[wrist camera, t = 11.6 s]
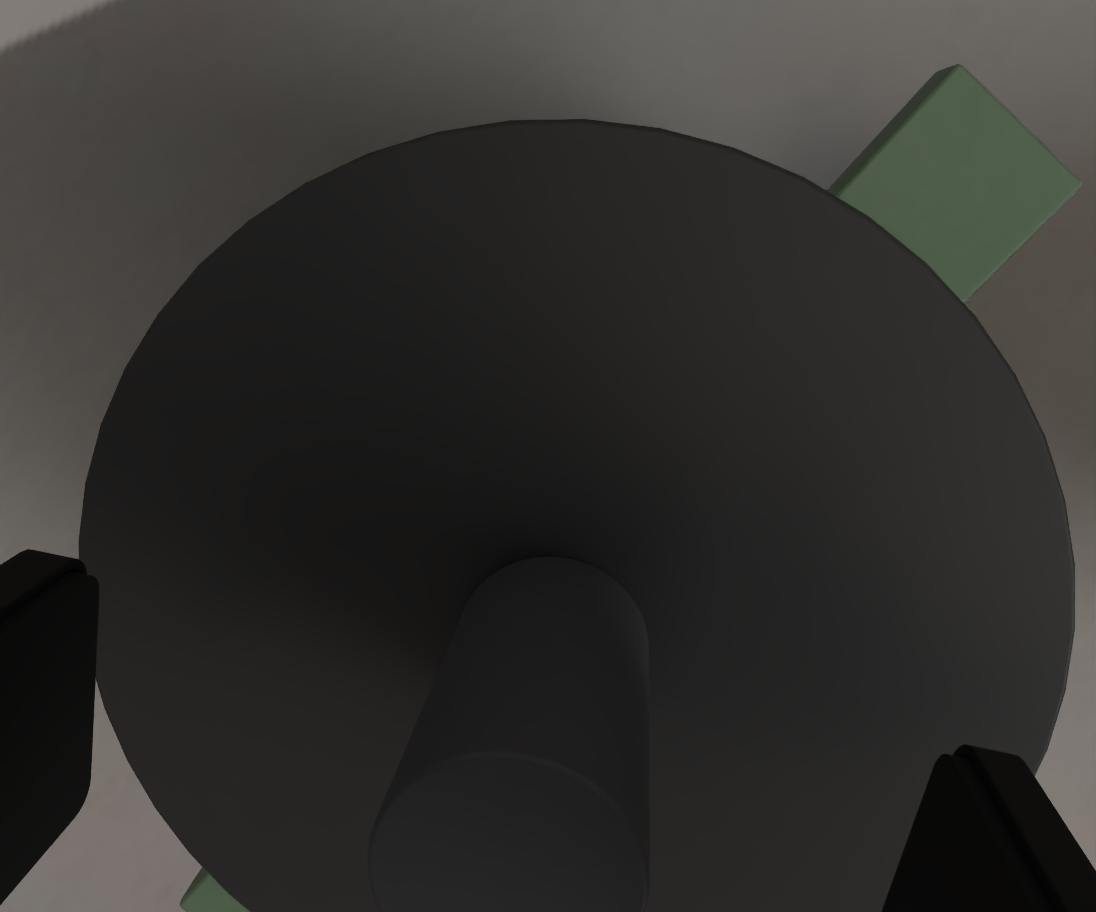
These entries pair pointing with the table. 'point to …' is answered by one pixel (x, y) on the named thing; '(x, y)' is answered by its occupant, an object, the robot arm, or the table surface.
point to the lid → (568, 537)
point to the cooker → (920, 216)
